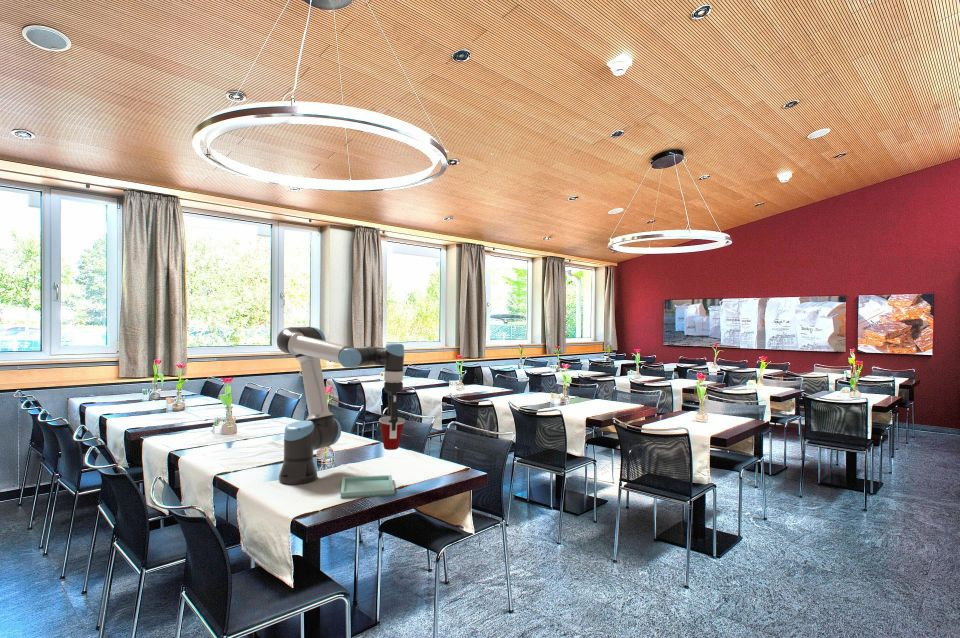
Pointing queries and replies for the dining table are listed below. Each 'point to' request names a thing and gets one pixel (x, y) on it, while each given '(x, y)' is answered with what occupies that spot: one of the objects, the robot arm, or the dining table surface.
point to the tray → (367, 486)
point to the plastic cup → (385, 427)
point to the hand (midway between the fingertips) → (391, 435)
